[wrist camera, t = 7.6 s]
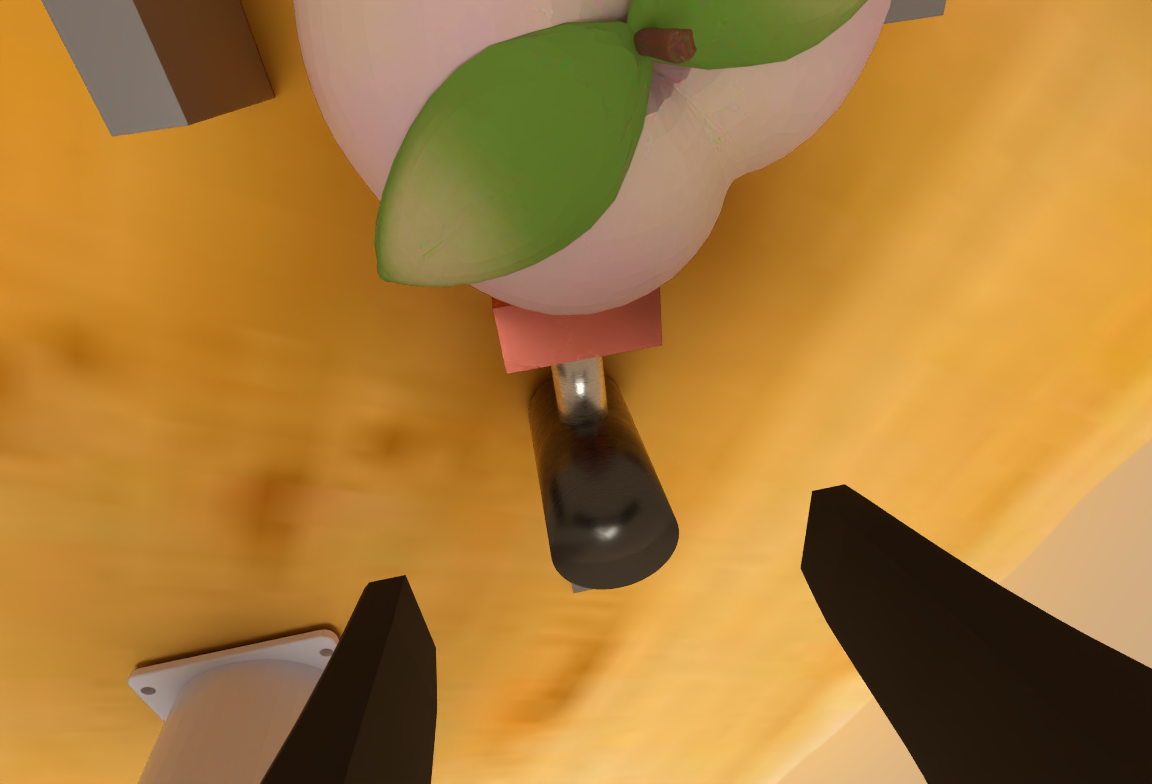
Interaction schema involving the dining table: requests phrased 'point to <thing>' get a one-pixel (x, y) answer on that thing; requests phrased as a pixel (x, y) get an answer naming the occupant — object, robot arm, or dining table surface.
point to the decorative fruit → (569, 128)
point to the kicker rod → (591, 442)
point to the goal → (196, 57)
